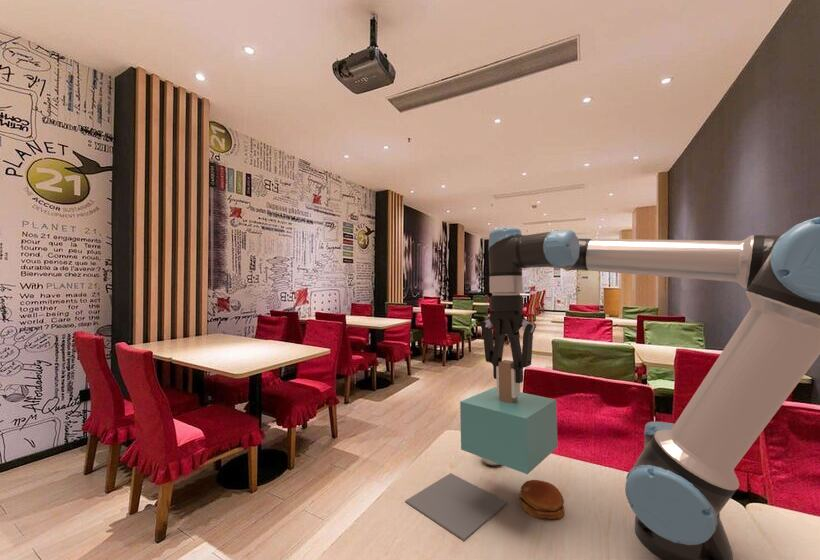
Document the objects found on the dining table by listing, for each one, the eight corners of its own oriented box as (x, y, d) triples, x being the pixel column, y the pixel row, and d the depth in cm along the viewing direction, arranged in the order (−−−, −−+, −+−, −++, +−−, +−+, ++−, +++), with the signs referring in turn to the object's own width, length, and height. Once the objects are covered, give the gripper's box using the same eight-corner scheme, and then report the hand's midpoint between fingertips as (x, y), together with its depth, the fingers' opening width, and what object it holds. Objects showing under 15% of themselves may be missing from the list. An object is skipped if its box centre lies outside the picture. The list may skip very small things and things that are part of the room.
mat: (507, 503, 80) (507, 501, 80) (463, 541, 68) (463, 539, 68) (450, 474, 92) (450, 473, 92) (405, 502, 80) (405, 500, 80)
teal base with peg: (557, 447, 79) (555, 360, 80) (527, 474, 68) (524, 373, 68) (496, 428, 90) (494, 353, 91) (461, 449, 79) (459, 362, 79)
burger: (573, 516, 76) (573, 495, 76) (538, 526, 73) (538, 504, 73) (543, 491, 85) (543, 472, 85) (511, 498, 82) (511, 479, 82)
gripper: (546, 294, 77) (549, 398, 76) (484, 294, 88) (486, 385, 88) (532, 294, 72) (535, 406, 71) (468, 294, 83) (470, 391, 82)
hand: (508, 394), depth 79 cm, fingers closed on teal base with peg, 3 cm apart
